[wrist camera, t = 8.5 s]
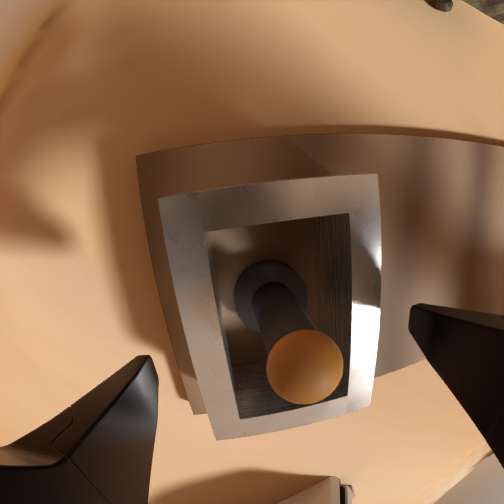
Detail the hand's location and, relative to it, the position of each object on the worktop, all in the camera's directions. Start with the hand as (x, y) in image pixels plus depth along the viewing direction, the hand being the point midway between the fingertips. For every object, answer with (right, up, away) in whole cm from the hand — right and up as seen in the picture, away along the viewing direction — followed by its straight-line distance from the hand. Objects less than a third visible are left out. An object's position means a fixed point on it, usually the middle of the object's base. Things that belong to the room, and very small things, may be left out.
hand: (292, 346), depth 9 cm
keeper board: (+7, +2, +6) cm, 10 cm away
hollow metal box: (0, +1, +5) cm, 5 cm away
